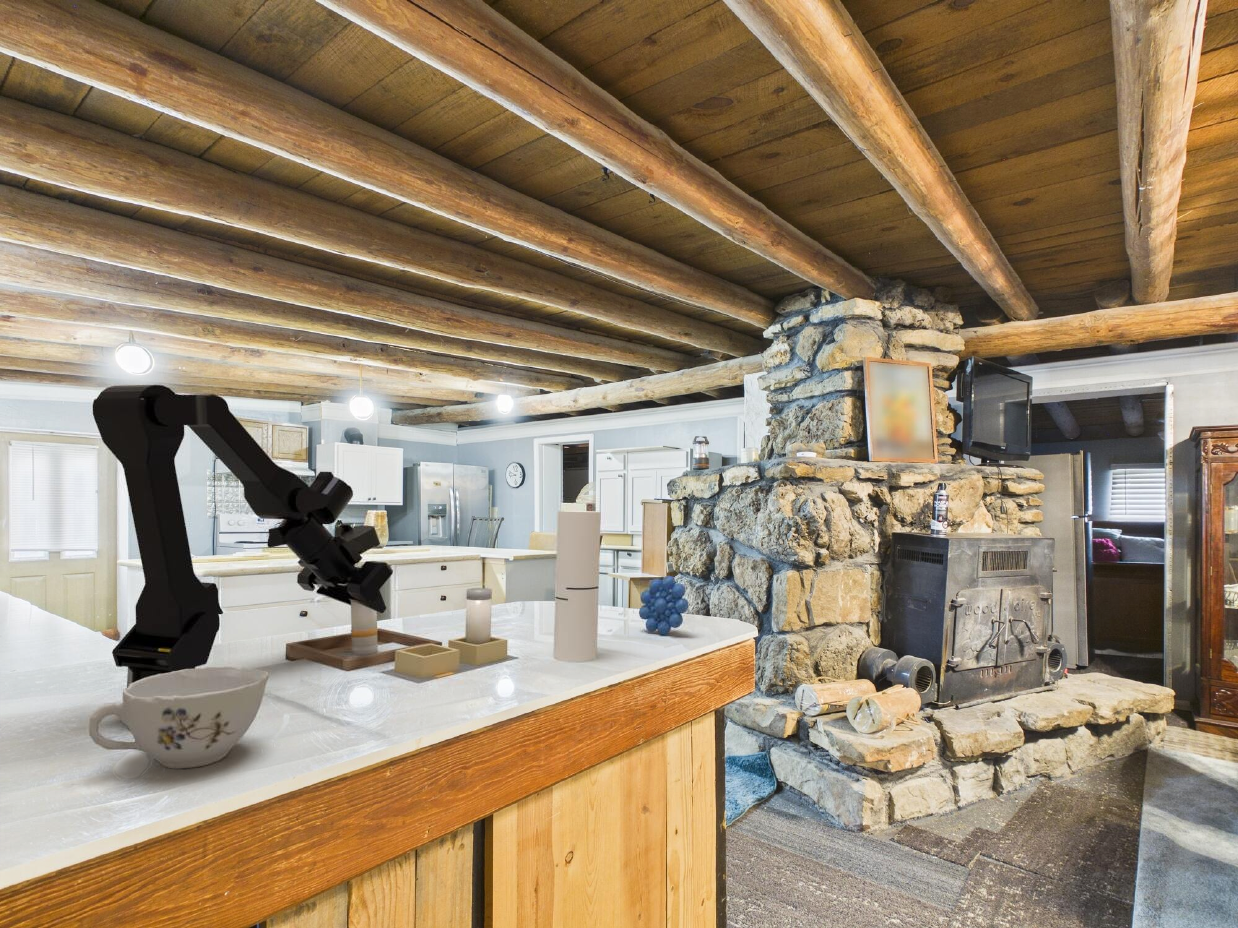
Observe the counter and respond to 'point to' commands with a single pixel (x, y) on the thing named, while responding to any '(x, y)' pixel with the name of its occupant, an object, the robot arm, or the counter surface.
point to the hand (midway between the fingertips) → (374, 609)
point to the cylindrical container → (577, 586)
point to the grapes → (663, 605)
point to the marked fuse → (363, 630)
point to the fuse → (478, 616)
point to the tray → (327, 646)
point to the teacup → (186, 714)
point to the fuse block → (447, 659)
